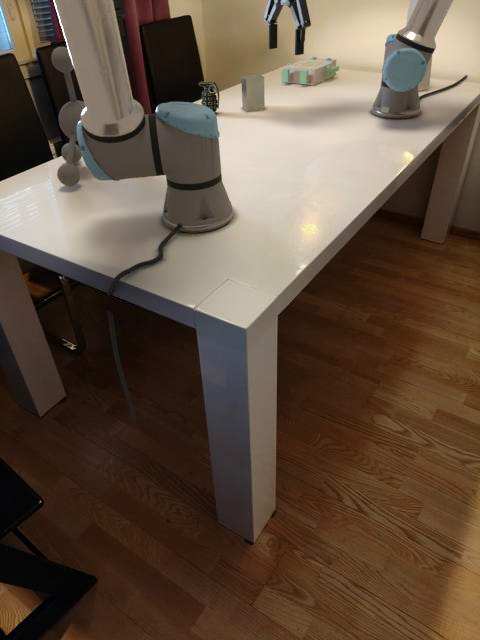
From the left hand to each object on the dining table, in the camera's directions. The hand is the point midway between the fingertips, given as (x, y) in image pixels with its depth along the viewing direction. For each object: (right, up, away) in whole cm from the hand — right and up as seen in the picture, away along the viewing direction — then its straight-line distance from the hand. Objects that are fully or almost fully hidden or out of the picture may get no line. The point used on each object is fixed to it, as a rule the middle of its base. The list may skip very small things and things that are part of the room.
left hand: (120, 48), depth 115 cm
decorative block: (+58, +38, +91) cm, 115 cm away
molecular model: (-10, -23, +18) cm, 31 cm away
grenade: (+18, +9, +58) cm, 61 cm away
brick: (+33, +12, +60) cm, 69 cm away
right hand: (+42, +17, +33) cm, 56 cm away
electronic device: (+93, +23, +70) cm, 119 cm away
